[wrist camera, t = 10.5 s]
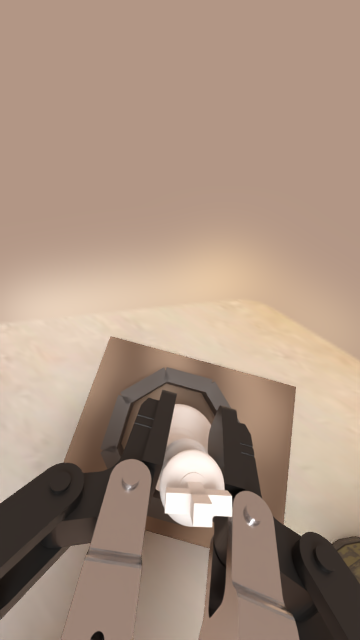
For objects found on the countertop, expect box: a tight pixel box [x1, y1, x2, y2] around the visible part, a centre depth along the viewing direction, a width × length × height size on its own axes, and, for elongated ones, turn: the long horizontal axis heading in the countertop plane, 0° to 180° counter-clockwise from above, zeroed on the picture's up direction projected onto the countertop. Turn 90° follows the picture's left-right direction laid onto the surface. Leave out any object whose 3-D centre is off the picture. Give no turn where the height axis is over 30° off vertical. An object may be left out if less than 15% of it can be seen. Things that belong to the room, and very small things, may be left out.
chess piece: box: [156, 404, 232, 527], centre depth 10 cm, size 5×5×10 cm
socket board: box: [64, 337, 296, 548], centre depth 18 cm, size 16×12×4 cm
